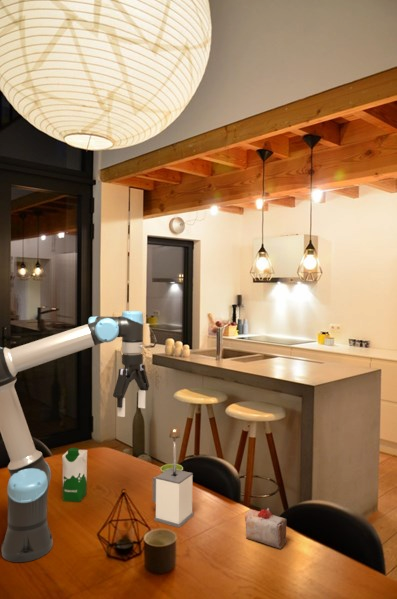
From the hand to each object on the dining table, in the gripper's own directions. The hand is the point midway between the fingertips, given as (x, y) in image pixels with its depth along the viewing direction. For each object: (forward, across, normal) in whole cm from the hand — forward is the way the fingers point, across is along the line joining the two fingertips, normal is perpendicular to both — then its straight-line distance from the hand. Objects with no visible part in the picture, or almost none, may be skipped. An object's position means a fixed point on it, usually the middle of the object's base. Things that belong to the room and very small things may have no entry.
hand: (131, 412), depth 167 cm
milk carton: (+38, +4, +29) cm, 48 cm away
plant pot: (+38, +28, -2) cm, 48 cm away
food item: (+38, +6, -49) cm, 62 cm away
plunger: (+26, +6, -14) cm, 30 cm away
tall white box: (+38, +6, -13) cm, 41 cm away
